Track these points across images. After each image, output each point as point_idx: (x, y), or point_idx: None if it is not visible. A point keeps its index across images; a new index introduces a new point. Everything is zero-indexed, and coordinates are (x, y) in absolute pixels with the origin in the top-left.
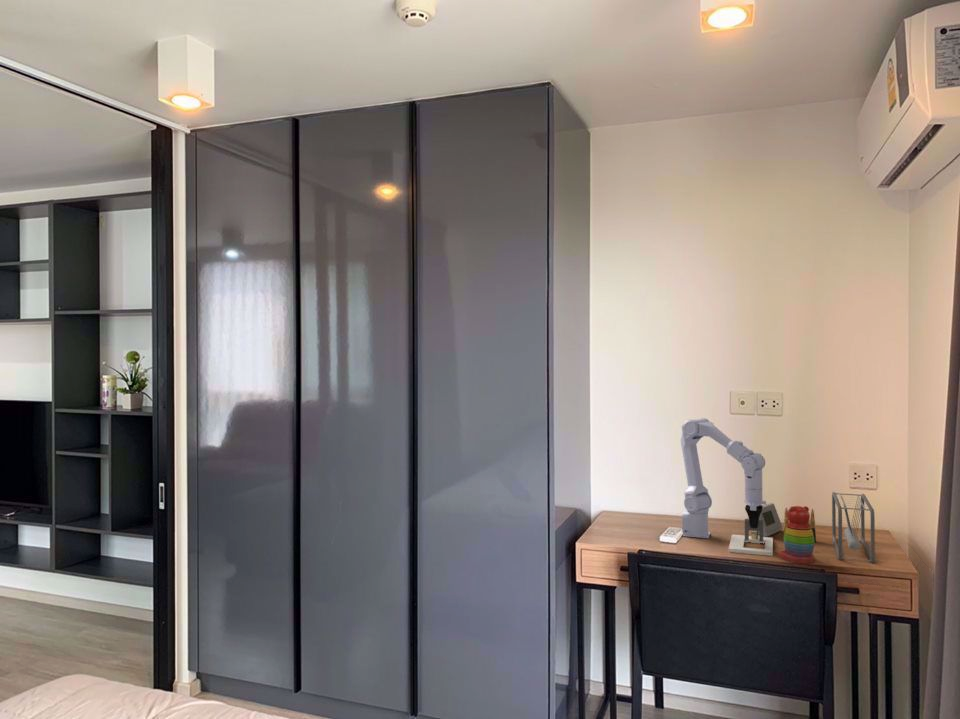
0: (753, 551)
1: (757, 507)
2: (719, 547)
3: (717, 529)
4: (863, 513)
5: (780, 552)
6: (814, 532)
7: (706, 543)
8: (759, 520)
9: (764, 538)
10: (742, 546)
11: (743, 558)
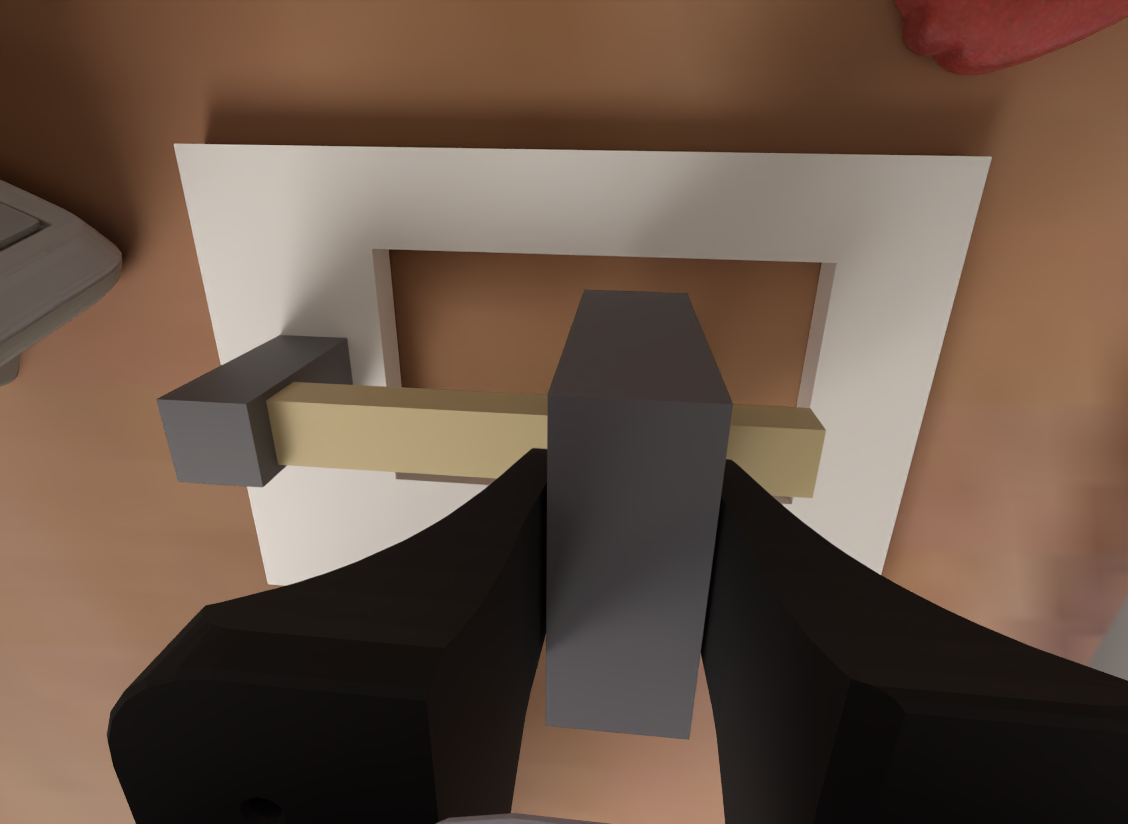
0: (924, 395)
1: (460, 801)
2: (700, 669)
3: (61, 661)
4: None
5: (1057, 28)
6: None
7: (592, 750)
8: (635, 480)
9: (263, 256)
10: None
11: (1106, 487)
